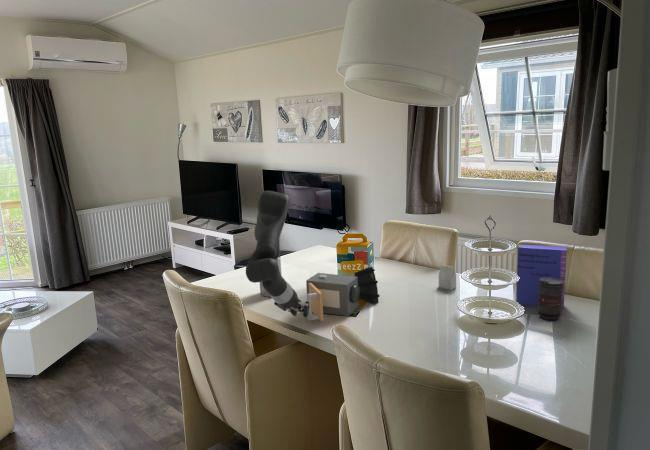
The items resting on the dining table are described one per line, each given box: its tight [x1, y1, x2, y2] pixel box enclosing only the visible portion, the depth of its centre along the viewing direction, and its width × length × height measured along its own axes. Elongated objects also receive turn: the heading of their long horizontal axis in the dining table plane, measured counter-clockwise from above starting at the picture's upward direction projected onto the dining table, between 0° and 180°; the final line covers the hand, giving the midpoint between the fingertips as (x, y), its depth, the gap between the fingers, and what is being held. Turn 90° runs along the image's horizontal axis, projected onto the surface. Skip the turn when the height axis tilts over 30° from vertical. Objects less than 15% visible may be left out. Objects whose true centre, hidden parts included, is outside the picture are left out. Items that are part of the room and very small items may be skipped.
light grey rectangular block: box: [438, 264, 457, 291], centre depth 229 cm, size 4×7×10 cm, turn 41°
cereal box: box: [515, 244, 568, 310], centre depth 202 cm, size 17×5×24 cm, turn 65°
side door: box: [306, 282, 324, 322], centre depth 199 cm, size 15×5×11 cm, turn 19°
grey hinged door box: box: [305, 272, 360, 317], centre depth 208 cm, size 20×11×14 cm, turn 65°
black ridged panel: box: [353, 266, 380, 305], centre depth 218 cm, size 4×13×15 cm, turn 32°
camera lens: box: [537, 277, 563, 323], centre depth 189 cm, size 8×8×15 cm
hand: (300, 314), depth 189 cm, fingers open, 4 cm apart
